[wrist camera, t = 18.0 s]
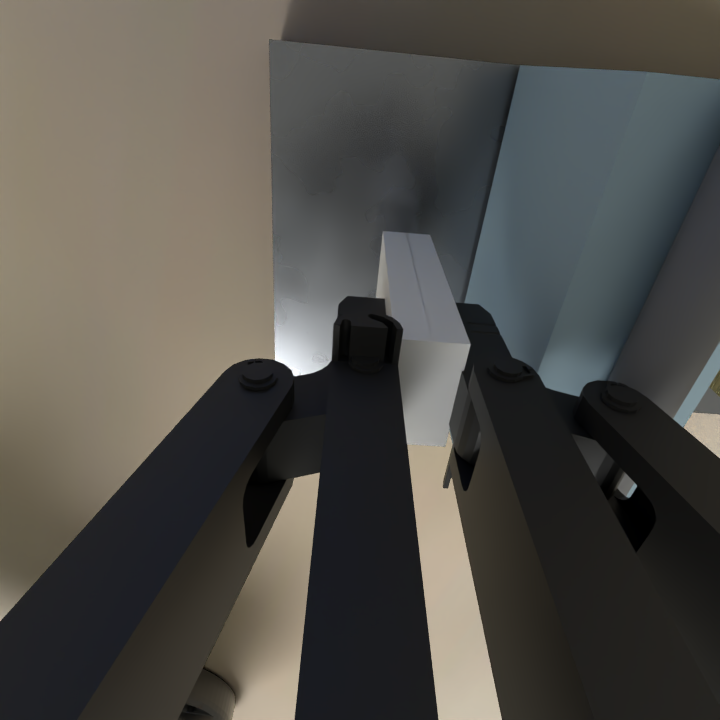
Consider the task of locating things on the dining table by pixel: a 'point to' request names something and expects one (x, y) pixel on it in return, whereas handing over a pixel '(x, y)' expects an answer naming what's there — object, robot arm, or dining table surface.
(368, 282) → the grey l-shaped bracket
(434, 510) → the dining table surface
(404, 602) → the robot arm
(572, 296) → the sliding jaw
